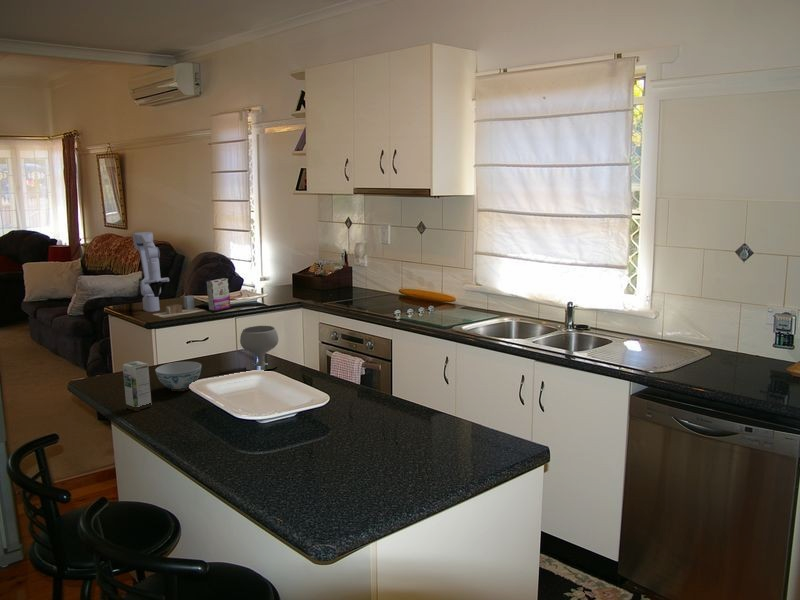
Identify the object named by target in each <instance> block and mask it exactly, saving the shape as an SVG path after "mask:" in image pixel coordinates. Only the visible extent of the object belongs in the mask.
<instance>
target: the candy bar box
mask: <svg viewBox="0 0 800 600" xmlns="http://www.w3.org/2000/svg"><path fill="white" fill-rule="evenodd" d="M206 290H207V291H206V292H207V299H208V300H207V301H208V310H210V311H218V310H219V311H220V310H223V309H229V308H231V298H230V296H231V295H230V287H229V278H225V277H224V278H218V279H213V280H206Z"/></svg>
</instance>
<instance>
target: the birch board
mask: <svg viewBox="0 0 800 600" xmlns="http://www.w3.org/2000/svg"><path fill="white" fill-rule="evenodd" d="M206 311H207V310H206V309H203V308H202V309H201V308H198V307H195V309H191V310H186V309H184V308H182V313H176V314H167V313H166V311H163V312H157V313H156V312H155V313H152V315H153V316H157V317H160V318H163V319H164V318H169V317H170V318H171V317H177V316H182V315H188V314H189V315H190V314H195V313H201V312H206Z"/></svg>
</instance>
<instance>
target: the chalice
mask: <svg viewBox="0 0 800 600" xmlns="http://www.w3.org/2000/svg"><path fill="white" fill-rule="evenodd" d="M239 342H240V346H241V347H242V349H244V351H247V352H249V353H251V354H254V355H255V356H256V357H257V362H255V363H256V364H254V363H253V364H254V366H265V365H268V363H265V362H266V361H264V357H265V355H266V354H267V353H268V352H270V351H272V350H273V349H274V348H276V346H277V345H278V343H279V334H278V332H277V330H276V328H275V327H274V326H271V325H255V326H249V327H245V328H243V329H242V331H241V334H240V338H239Z"/></svg>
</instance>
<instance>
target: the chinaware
mask: <svg viewBox="0 0 800 600" xmlns="http://www.w3.org/2000/svg"><path fill="white" fill-rule="evenodd" d="M154 370H155V371H154V372H155V374H156V377H157V378H158V380H159V382H160V383H161V385H163V386H165V387H166V388H168V389H170V388H171V389H181V388H187V387H188V385H189V384H191V383H192V382H195V381H196V382H197V380H198V379H199V377H200V375H201V372H202V363H200V362H197V361H177V362H176V361H175V362H171V363H166V364H163V365H160V366H157V367H156V368H155V369H154ZM196 382H195V383H196Z"/></svg>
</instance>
